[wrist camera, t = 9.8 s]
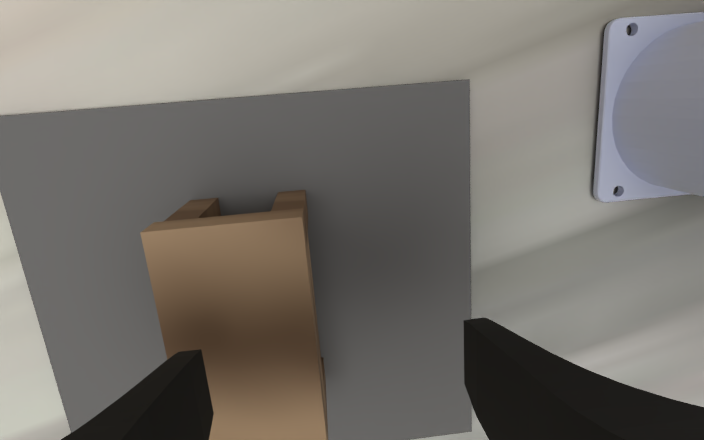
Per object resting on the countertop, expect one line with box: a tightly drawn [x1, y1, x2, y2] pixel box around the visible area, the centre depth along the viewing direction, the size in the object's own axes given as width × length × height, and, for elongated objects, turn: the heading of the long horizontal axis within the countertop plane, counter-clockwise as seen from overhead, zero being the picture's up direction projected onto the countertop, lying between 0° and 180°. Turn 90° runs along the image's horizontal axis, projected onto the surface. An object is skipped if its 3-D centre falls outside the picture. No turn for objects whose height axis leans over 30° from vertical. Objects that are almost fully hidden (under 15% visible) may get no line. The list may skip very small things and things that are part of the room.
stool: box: [140, 190, 328, 440], centre depth 18 cm, size 10×5×6 cm, turn 4°
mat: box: [0, 79, 472, 440], centre depth 21 cm, size 20×18×1 cm
